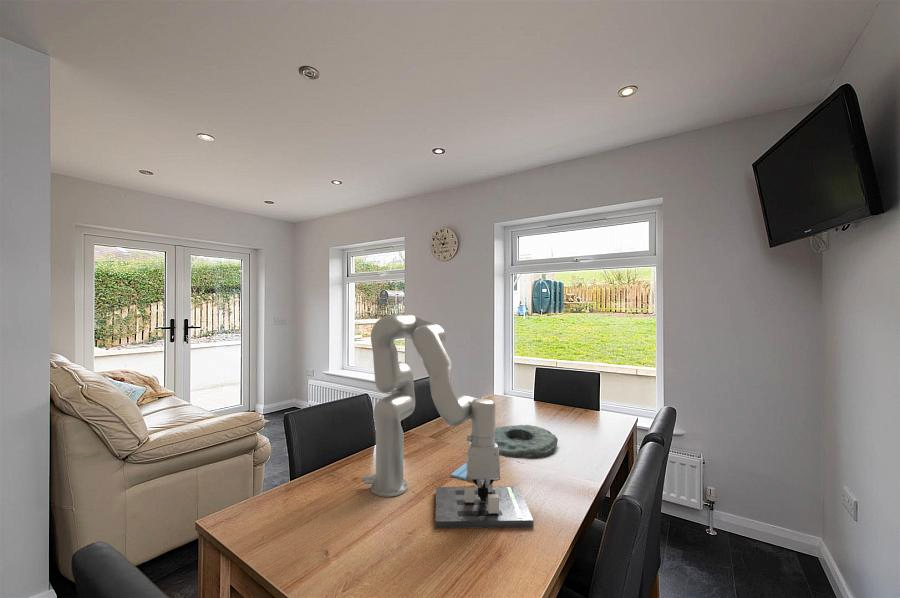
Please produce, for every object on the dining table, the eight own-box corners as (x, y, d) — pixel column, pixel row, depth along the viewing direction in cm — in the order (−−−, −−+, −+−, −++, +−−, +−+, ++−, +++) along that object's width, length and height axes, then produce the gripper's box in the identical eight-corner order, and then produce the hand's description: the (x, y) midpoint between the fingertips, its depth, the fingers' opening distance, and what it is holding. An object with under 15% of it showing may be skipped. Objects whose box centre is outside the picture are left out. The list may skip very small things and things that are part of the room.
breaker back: (483, 492, 127) (483, 477, 127) (482, 489, 129) (482, 475, 129) (492, 492, 127) (492, 477, 128) (491, 489, 129) (491, 475, 130)
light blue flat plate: (480, 485, 139) (480, 481, 139) (450, 477, 145) (450, 474, 145) (494, 471, 151) (494, 467, 151) (466, 464, 156) (466, 461, 156)
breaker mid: (464, 502, 121) (464, 486, 121) (464, 499, 123) (464, 483, 123) (474, 502, 121) (474, 486, 121) (473, 499, 123) (473, 483, 123)
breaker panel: (435, 528, 111) (435, 521, 111) (435, 492, 132) (435, 486, 132) (533, 527, 112) (533, 519, 112) (518, 492, 133) (518, 485, 133)
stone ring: (551, 433, 195) (551, 423, 195) (564, 460, 161) (564, 448, 161) (482, 430, 198) (482, 421, 198) (480, 456, 164) (480, 444, 164)
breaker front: (488, 513, 114) (488, 497, 114) (487, 509, 116) (487, 494, 116) (498, 513, 114) (498, 497, 115) (497, 509, 116) (497, 494, 117)
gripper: (460, 444, 118) (459, 505, 118) (509, 444, 119) (508, 504, 118) (458, 436, 126) (458, 493, 125) (504, 435, 126) (504, 493, 126)
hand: (482, 498), depth 122 cm, fingers closed
